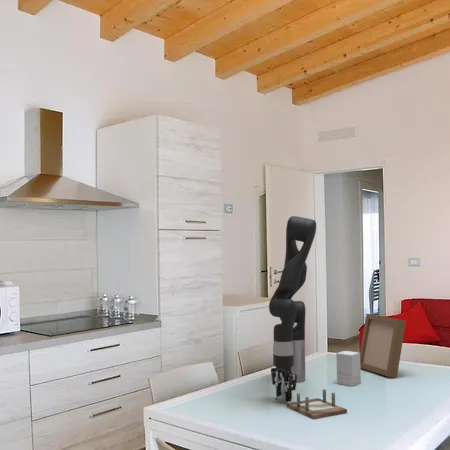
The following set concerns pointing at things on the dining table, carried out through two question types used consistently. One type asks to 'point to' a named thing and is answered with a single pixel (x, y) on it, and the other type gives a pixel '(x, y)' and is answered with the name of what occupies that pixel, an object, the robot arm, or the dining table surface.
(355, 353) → the supplement box
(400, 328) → the photo frame
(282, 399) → the pacifier
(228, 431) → the dining table surface
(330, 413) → the pin tray
